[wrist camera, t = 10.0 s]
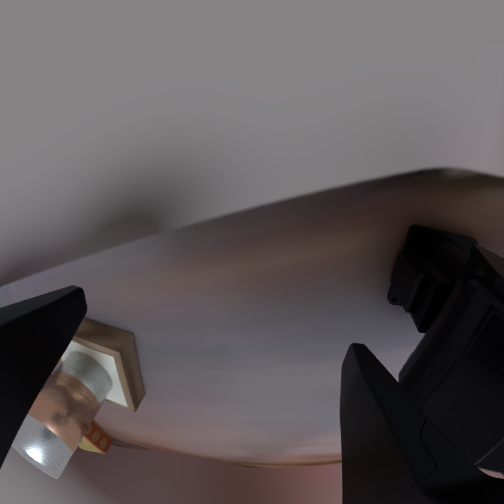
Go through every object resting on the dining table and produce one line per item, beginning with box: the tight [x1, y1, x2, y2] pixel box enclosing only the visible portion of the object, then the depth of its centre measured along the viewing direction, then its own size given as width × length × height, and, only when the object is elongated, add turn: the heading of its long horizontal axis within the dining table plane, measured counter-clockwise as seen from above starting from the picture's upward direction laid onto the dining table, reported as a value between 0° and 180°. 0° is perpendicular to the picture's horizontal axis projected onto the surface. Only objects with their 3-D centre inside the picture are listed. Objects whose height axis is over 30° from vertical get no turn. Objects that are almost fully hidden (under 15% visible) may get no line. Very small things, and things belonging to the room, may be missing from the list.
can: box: [11, 351, 113, 479], centre depth 21 cm, size 6×6×13 cm
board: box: [59, 318, 145, 412], centre depth 28 cm, size 10×10×3 cm
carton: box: [47, 375, 113, 453], centre depth 37 cm, size 8×16×4 cm, turn 26°
